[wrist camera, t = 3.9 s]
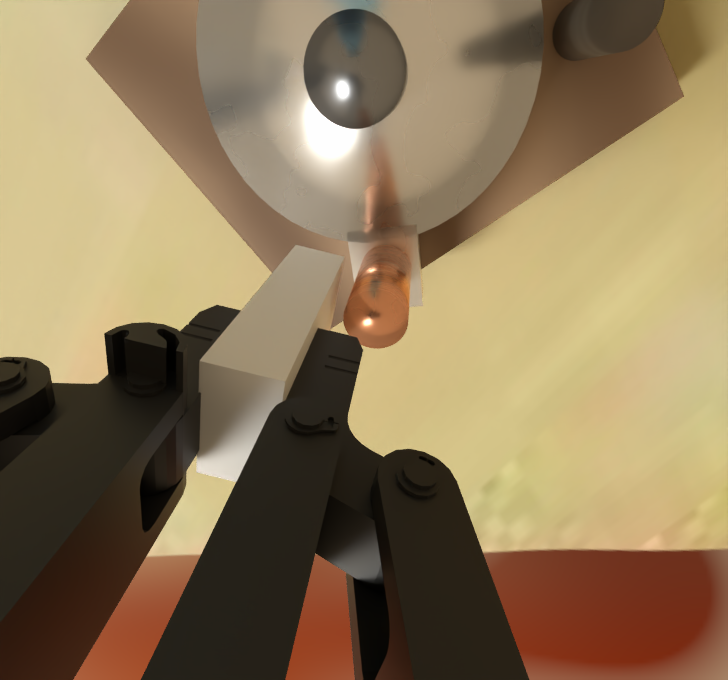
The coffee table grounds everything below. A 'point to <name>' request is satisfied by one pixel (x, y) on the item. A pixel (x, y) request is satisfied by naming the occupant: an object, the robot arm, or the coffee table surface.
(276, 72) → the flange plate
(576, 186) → the coffee table surface
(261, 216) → the base board
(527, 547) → the coffee table surface
